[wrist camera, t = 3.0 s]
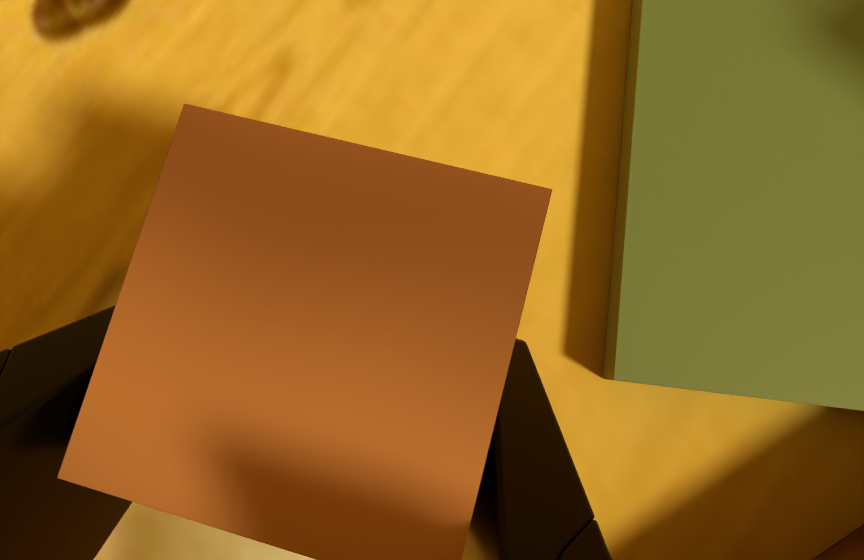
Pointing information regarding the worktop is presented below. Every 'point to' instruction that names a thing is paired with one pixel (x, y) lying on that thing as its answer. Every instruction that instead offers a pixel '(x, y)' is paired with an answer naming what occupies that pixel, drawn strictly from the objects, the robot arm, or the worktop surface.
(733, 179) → the notebook
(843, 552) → the tray
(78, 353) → the robot arm
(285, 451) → the block
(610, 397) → the worktop surface
